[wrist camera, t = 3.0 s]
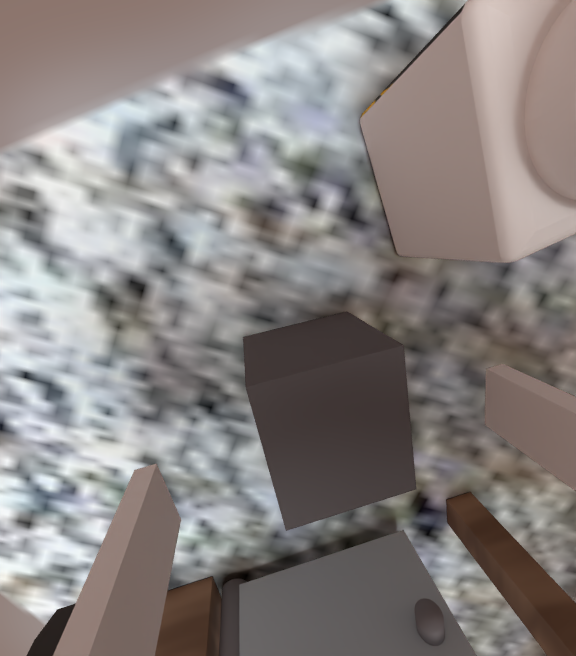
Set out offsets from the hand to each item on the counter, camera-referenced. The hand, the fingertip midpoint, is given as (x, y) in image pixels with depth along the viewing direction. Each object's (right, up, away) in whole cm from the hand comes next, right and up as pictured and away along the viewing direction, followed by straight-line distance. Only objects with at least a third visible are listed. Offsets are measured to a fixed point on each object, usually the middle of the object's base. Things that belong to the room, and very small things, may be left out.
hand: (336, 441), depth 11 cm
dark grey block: (-1, +1, +6) cm, 6 cm away
